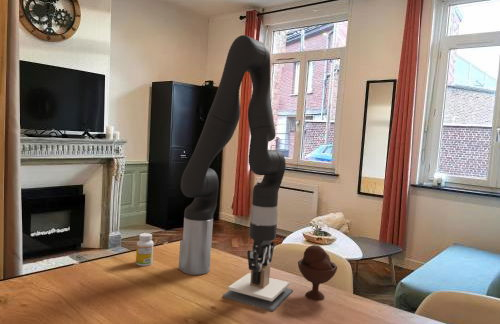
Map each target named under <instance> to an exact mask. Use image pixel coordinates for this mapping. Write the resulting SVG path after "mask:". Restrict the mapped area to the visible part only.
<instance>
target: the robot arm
mask: <svg viewBox="0 0 500 324" xmlns="http://www.w3.org/2000/svg"><path fill="white" fill-rule="evenodd" d="M270 53H271V52H270V50H269V47H268V45H266V44H265V43H263V42H262V41H260V40H257V39H255V38H254V37H251V36H248V35H245V34H243V35H239V36H237V37H236V38H235V39H234V40H233V42H232V44H231V45H230V47H229V49H228V53H227V56H226V58H225V59H226V60H225V63H224V66H223V67H224V68H223V71H222V74H221V78H220V82H219V85H218V88H217V91H216V93H215V95H214V99H213V102H212V104H211V107H210V108H209V111H208V114H207V116H206V120H205V122H204V125H203V129H202V131H201V134H200V136H199V138H198V141H197V142H196V143H197V144H196V146H195V148H194V151H193V153H192V155H191V157H190V159H189V161H188V162H187V165H186V167H185V169H184V171H183V173H182V175H181V180H180V190H181V192H182V194H183V195H184V196H185V197H187V198H194V199H193V201H192V202H191V203H190V204H189V205H187V206H186V207H185V209H184V212H183V213H184V214H183V216H184V217H183V231H182V233H183V234H182V239H180V241H179V255H178V256H179V257H178V270H180V271H182V273H183V274H188V275H196V276H197V275H204V274H207V273H209V272H210V271H211V258H212V255H211V254H212V243H213V242H212V239H213V223H214V214H215V212H216V208H217V202H218V195H219V186H220V185H219V183H220V182H219V177H218V174H217V172H216V171H215V170H214V169H213V168H210V166H211V164H212V162H213V161H214V160H215V158H216V156H217V155H218V154H219V153H221V151H222V150H223V149H224V148H225V147H226V145H228V143H229V142H230V140H232V139H233V136H234V133H235V131H236V129H237V126H238V124H239V121H240V118H241V105H240V89H241V85H242V82H243V79H244V77H245V74H246V72H247V73H249V76H250V79H251V85H252V91H251V95H250V96H251V97H250V100H249V104H248V108H247V121H248V126H249V127H248V128H249V132H250V133H249V134H250V140H249V141H250V142H249V149H248V165H249V168H250V170H251V172H252V173H254V175H257V176H263V178H262V181H261V182H258V183H256V184H255V185H254V186H253V189H252V201H251V202H252V203H251V208H250V217H249V218H250V220H249V234H248V236H249V238H251V239H252V240H253V244H252V249H251V250H249V249H248V250H247V262H248V263H247V264H248V271H251V270H253V276H252V283H253V284H256V285H259V284H260V280H261V268H262V265H265V266H270V263H272V261H273V255H274V254H273V253H274V250H275V245H276V242H275V241H274V240H276V238H277V229H278V216H279V215H278V214H279V213H278V203H279V202H278V201H279V200H278V199H279V190H280V188H281V185H282V182H283V178H284V174H285V172H286V166H287V165H286V164H287V162H286V158H285V156H284V154H283V152H281V150H277V149H269V148H268V147H269V146H268V145H269V142H271V141H273V140H274V139H276V135H277V134H276V128H275V121H274V115H273V109H272V108H273V107H272V98H271V96H272V95H271V93H272V92H271V91H272V90H271V86H272V85H271V54H270ZM258 264H259V265H258Z"/></svg>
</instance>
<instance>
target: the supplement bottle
mask: <svg viewBox="0 0 500 324" xmlns="http://www.w3.org/2000/svg"><path fill="white" fill-rule="evenodd" d="M138 239H139V240H138V241H137V242H136V254H135V264H136V265H138V266H141V267H145V266H151V265H152V264H154V263H153V262H154V243H155V242H154V241H153V240H152V239H153V234H152V233H149V232H144V233H140V234H139V238H138Z"/></svg>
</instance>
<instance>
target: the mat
mask: <svg viewBox="0 0 500 324" xmlns="http://www.w3.org/2000/svg"><path fill="white" fill-rule="evenodd" d="M293 292H294V290H293V288H292V289H291V288H289V287H287V288H286V289H285V290H284V291H282V292H281V293H280V294H279V295H278V296H277V297H276V298H275V299H274V300H273V301H268V300H265V299H261V298H257V297H254V296H250V295H246V294H242V293H239V292H235V291H231V290H228V291H226V292H225V293H223V294H222V298H225V299H228V300H232V301H235V302H239V303H242V304H246V305H250V306H253V307H256V308H260V309H262V310H265V311H270V312H274V311H275V310H276V309H277V308H278V307H279V306H280V305H281V304H283V302H284V301H285V300H286V299H287V298H289V296H290V295H291V294H293Z"/></svg>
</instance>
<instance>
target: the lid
mask: <svg viewBox="0 0 500 324" xmlns="http://www.w3.org/2000/svg"><path fill="white" fill-rule="evenodd" d="M258 265H259V263H258ZM270 274H271V266H270V265H269V266H265V265H262V268H261V280H260V284H259V285H256V284H253V283H252V276H253V270H250V272H248V273H247V274H245V275H244V276H242V277H241V278H239V279H238V280H236V281H235V282H233V283H232V284H230V285H228V287H227V290H228V291H229V290H231V291H235V292H239V293H242V294H246V295H250V296H254V297H257V298H261V299H265V300H268V301H273V300H274V299H275V298H276V297H277V296H278V295H279V294H280V293H281V292H282V291H284V290H285V289H286V288H289V286H290V281H285V280H282V279H276V278H272V277H270V276H271V275H270Z"/></svg>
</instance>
